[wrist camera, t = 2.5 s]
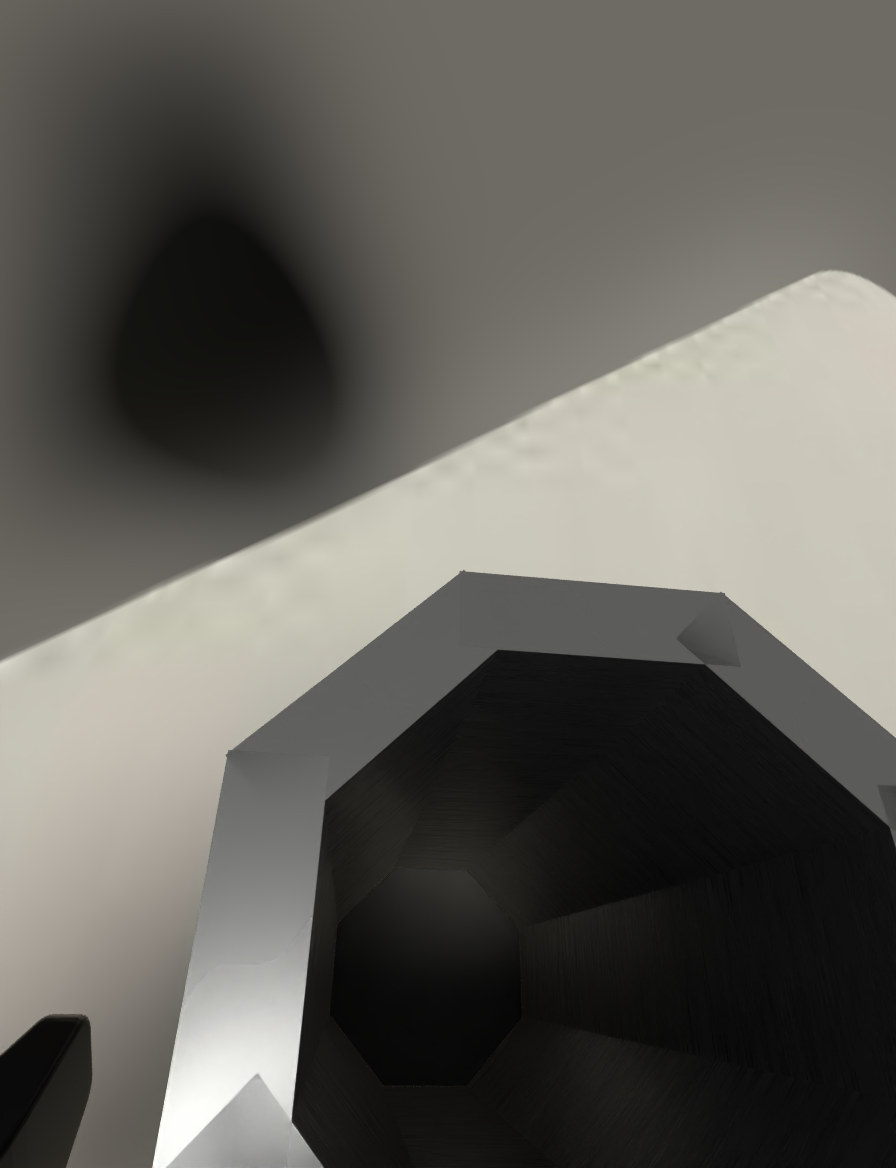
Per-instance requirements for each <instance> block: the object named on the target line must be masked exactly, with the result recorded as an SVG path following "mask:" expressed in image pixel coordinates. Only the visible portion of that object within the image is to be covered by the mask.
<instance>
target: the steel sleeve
mask: <svg viewBox="0 0 896 1168" xmlns="http://www.w3.org/2000/svg"><path fill="white" fill-rule="evenodd" d="M226 757H227V761H226V766H225V772H224V777H223V783H222V788H221V794H220V799H219V805H218V810H217V816H216V821H215V827H214V832H213V838H212V843H211V849H210V854H209V860H208V865H207V871H206V876H205V882H204V887H203V893H202V898H201V904H200V909H199V915H198V920H197V925H196V931H195V936H194V942H193V947H192V953H191V958H190V964H189V969H188V975H187V980H186V986H185V991H184V997H183V1002H182V1008H181V1013H180V1019H179V1024H178V1030H177V1035H176V1041H175V1046H174V1052H173V1057H172V1063H171V1068H170V1074H169V1079H168V1084H167V1090H166V1095H165V1101H164V1106H163V1112H162V1117H161V1123H160V1128H159V1134H158V1139H157V1145H156V1150H155V1156H154V1161H153V1167H152V1168H896V738H895V737H894V736H893V735H892V734H890V733H889V732H888V731H887V730H886V729H884V728H883V727H882V726H881V725H880V724H878V723H877V722H876V721H875V720H874V719H872V718H871V717H870V716H869V715H868V714H866V713H865V712H864V711H863V710H862V709H860V708H859V707H858V706H857V705H856V704H854V703H853V702H852V701H851V700H850V699H848V698H847V697H846V696H845V695H844V694H842V693H841V692H840V691H839V690H838V689H836V688H835V687H834V686H833V685H832V684H830V683H829V682H828V681H827V680H826V679H824V678H823V677H822V676H821V675H820V674H819V673H817V672H816V671H815V670H814V669H813V668H811V667H810V666H809V665H808V664H807V663H805V662H804V661H803V660H802V659H801V658H799V657H798V656H797V655H796V654H795V653H793V652H792V651H791V650H790V649H789V648H787V647H786V646H785V645H784V644H783V643H781V642H780V641H779V640H778V639H777V638H775V637H774V636H773V635H772V634H771V633H769V632H768V631H767V630H766V629H765V628H763V627H762V626H761V625H760V624H759V623H757V622H756V621H755V620H754V619H753V618H751V617H750V616H749V615H748V614H747V613H746V612H744V611H743V610H742V609H741V608H740V607H738V606H737V605H736V604H735V603H734V602H732V601H731V600H730V599H729V598H728V597H726V596H725V593H722V592H720V593H714V592H702V591H690V590H678V589H666V588H654V587H642V586H630V585H618V584H607V583H595V582H583V581H571V580H559V579H547V578H535V577H523V576H511V575H499V574H487V573H475V572H465V571H464V570H463V571H460V572H459V574H458V575H457V576H456V577H454V578H453V579H452V580H451V581H449V582H448V583H447V584H445V585H444V586H443V587H442V588H440V589H439V590H438V591H436V592H435V593H434V594H433V595H431V596H430V597H429V598H427V599H426V600H425V601H424V602H422V603H421V604H420V605H418V606H417V607H416V608H414V609H413V610H412V611H411V612H409V613H408V614H407V615H405V616H404V617H403V618H402V619H400V620H399V621H398V622H396V623H395V624H394V625H393V626H391V627H390V628H389V629H387V630H386V631H385V632H384V633H382V634H381V635H380V636H378V637H377V638H376V639H375V640H373V641H372V642H371V643H369V644H368V645H367V646H365V647H364V648H363V649H362V650H360V651H359V652H358V653H356V654H355V655H354V656H353V657H351V658H350V659H349V660H347V661H346V662H345V663H344V664H342V665H341V666H340V667H338V668H337V669H336V670H335V671H333V672H332V673H331V674H329V675H328V676H327V677H326V678H324V679H323V680H322V681H320V682H319V683H318V684H316V685H315V686H314V687H313V688H311V689H310V690H309V691H307V692H306V693H305V694H304V695H302V696H301V697H300V698H298V699H297V700H296V701H295V702H293V703H292V704H291V705H289V706H288V707H287V708H286V709H284V710H283V711H282V712H280V713H279V714H278V715H276V716H275V717H274V718H273V719H271V720H270V721H269V722H267V723H266V724H265V725H264V726H262V727H261V728H260V729H258V730H257V731H256V732H255V733H253V734H252V735H251V736H249V737H248V738H247V739H246V740H244V741H243V742H242V743H240V744H239V745H238V746H237V747H235V748H234V749H233V750H228V753H227V754H226ZM395 867H397V868H425V869H452V870H467V871H468V872H469V873H470V874H471V875H472V876H473V877H474V879H475V880H476V881H477V882H478V883H479V884H480V885H481V886H482V888H483V889H484V890H485V891H486V892H487V893H488V894H489V895H490V897H491V898H492V899H493V900H494V901H495V902H496V903H497V904H498V906H499V907H500V908H501V909H502V910H503V911H504V912H505V914H506V915H507V916H508V917H509V918H510V919H511V920H512V921H513V923H514V924H515V925H516V926H517V927H518V928H519V947H520V978H521V1008H522V1017H521V1019H520V1020H519V1021H518V1022H517V1023H516V1025H515V1026H514V1027H513V1028H512V1030H511V1031H510V1032H509V1033H508V1035H507V1036H506V1037H505V1038H504V1040H503V1041H502V1042H501V1043H500V1045H499V1046H498V1047H497V1048H496V1050H495V1051H494V1052H493V1053H492V1055H491V1056H490V1057H489V1058H488V1060H487V1061H486V1062H485V1063H484V1065H483V1066H482V1067H481V1068H480V1070H479V1071H478V1072H477V1073H476V1075H475V1076H474V1077H473V1078H472V1080H471V1081H470V1082H469V1083H468V1085H467V1086H383V1084H382V1083H381V1082H380V1080H379V1079H378V1078H377V1076H376V1075H375V1074H374V1072H373V1071H372V1070H371V1068H370V1067H369V1066H368V1065H367V1063H366V1062H365V1061H364V1059H363V1058H362V1057H361V1055H360V1054H359V1053H358V1051H357V1050H356V1049H355V1047H354V1046H353V1045H352V1043H351V1042H350V1041H349V1039H348V1038H347V1037H346V1035H345V1034H344V1033H343V1031H342V1030H341V1029H340V1027H339V1026H338V1025H337V1024H336V1022H335V1021H334V1020H333V1018H332V1017H331V1016H330V1005H331V993H332V982H333V971H334V959H335V948H336V937H337V925H338V923H339V922H340V921H341V920H342V919H343V918H344V917H345V916H346V915H347V914H348V913H349V912H350V911H351V910H352V909H353V908H354V907H355V906H356V905H357V904H358V903H359V902H360V901H361V900H362V899H363V898H364V897H365V896H366V895H367V894H368V893H369V892H370V891H371V890H372V889H373V888H374V887H375V886H376V885H378V884H379V883H380V882H381V881H382V880H383V879H384V878H385V877H386V876H387V875H388V874H389V873H390V872H391V871H392V870H393V869H394V868H395Z"/></svg>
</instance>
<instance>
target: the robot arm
mask: <svg viewBox="0 0 896 1168" xmlns="http://www.w3.org/2000/svg"><path fill="white" fill-rule="evenodd" d="M91 1083H92V1052H91V1027H90V1021H89V1019H88V1017H87V1016H85V1015H82V1014H52V1015H48V1016H46V1017H44V1018H42V1019H41V1020H39V1021H38V1022H37V1023H36V1024H35V1025H33V1026H32V1027H31V1028H30V1029H29V1030H28V1031H27V1032H26V1033H25V1034H23V1035H22V1036H21V1037H20V1038H19V1039H18V1040H17V1041H16V1042H15V1043H13V1044H12V1045H11V1046H10V1047H9V1048H8V1049H7V1050H6V1051H4V1052H3V1053H2V1054H1V1055H0V1168H66V1165H67V1162H68V1159H69V1156H70V1153H71V1150H72V1147H73V1144H74V1141H75V1138H76V1135H77V1132H78V1129H79V1126H80V1123H81V1120H82V1117H83V1113H84V1110H85V1107H86V1104H87V1101H88V1097H89V1093H90V1089H91Z"/></svg>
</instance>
